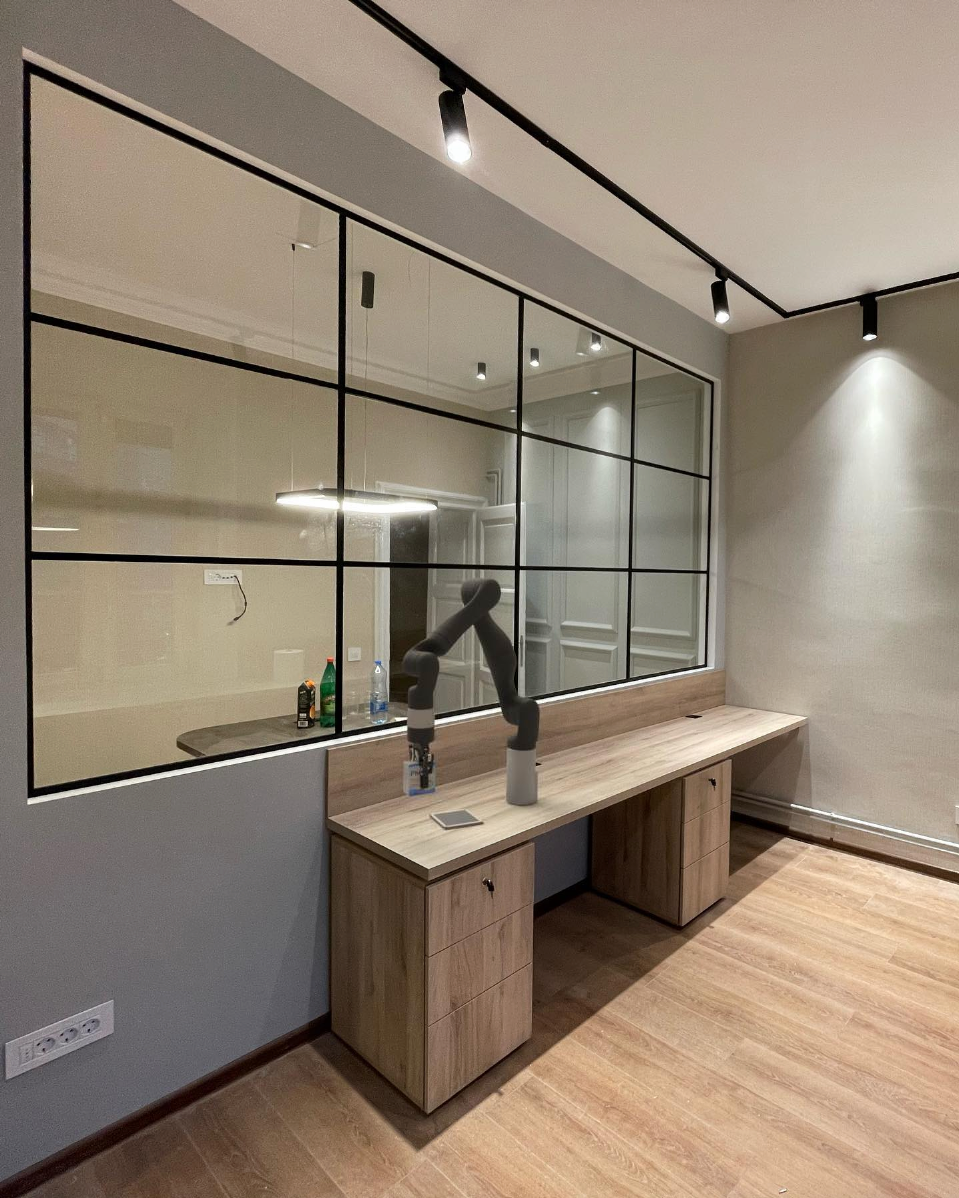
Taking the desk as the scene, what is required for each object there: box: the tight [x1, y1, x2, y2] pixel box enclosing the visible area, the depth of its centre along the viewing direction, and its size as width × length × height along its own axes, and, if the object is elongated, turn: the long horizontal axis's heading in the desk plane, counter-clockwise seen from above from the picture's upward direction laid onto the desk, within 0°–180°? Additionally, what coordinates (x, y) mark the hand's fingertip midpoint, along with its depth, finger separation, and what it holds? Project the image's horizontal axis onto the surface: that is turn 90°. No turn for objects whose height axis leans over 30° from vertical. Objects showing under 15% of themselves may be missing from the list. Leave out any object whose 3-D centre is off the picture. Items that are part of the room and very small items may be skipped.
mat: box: [429, 808, 484, 831], centre depth 200 cm, size 12×12×1 cm
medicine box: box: [402, 760, 436, 797], centre depth 187 cm, size 8×4×9 cm, turn 116°
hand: (420, 785), depth 187 cm, fingers closed on medicine box, 4 cm apart
